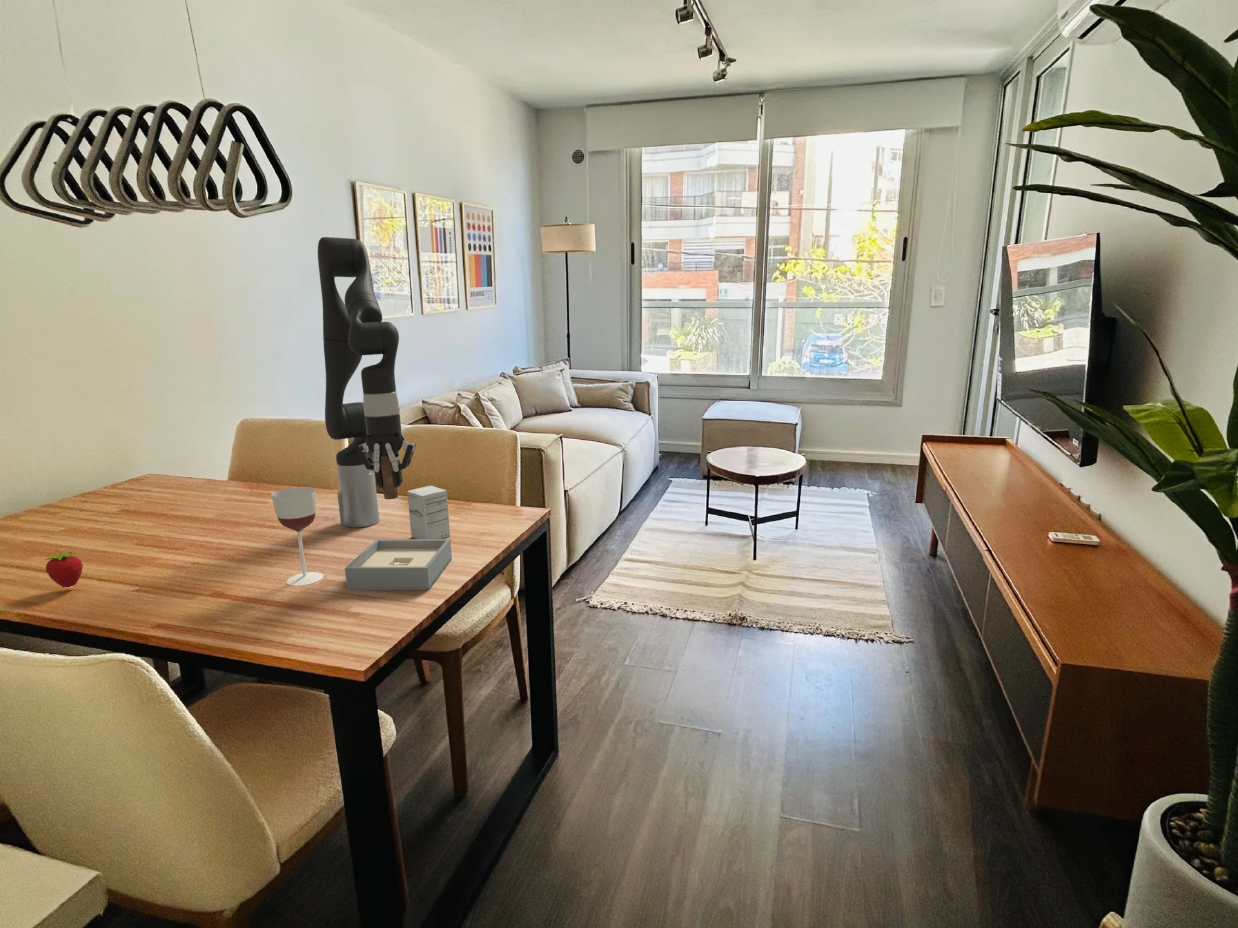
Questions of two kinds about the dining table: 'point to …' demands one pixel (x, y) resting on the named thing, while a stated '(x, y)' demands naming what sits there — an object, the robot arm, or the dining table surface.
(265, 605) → the dining table surface
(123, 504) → the dining table surface
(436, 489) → the supplement box
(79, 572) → the strawberry
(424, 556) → the peg box
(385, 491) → the peg
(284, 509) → the wineglass
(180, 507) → the dining table surface
